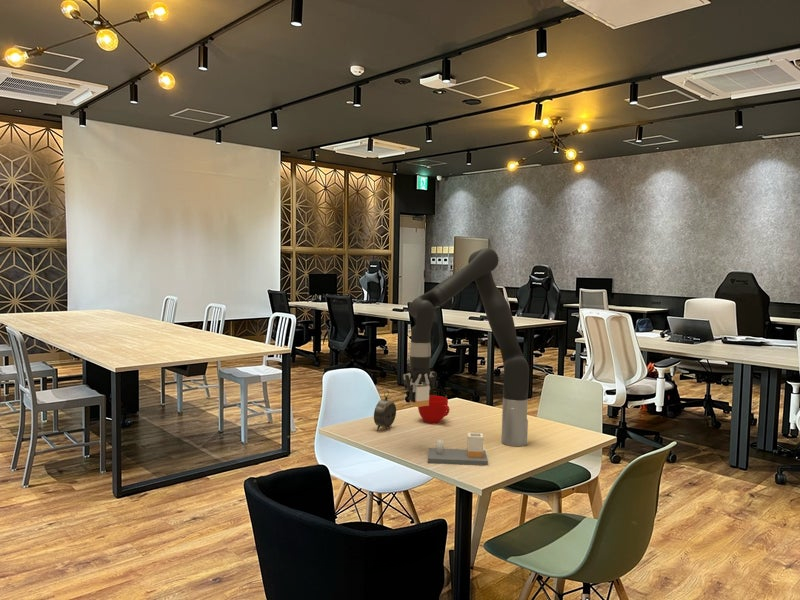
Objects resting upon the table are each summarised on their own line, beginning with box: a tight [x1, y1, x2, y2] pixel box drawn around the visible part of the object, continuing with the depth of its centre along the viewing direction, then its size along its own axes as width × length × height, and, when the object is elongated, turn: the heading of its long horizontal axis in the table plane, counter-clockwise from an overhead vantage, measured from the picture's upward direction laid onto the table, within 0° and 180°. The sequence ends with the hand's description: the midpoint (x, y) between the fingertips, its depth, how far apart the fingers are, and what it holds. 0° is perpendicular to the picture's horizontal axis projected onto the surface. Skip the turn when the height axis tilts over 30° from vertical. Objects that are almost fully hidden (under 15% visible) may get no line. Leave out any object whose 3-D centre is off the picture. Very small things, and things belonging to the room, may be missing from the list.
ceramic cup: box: [417, 395, 450, 424], centre depth 251 cm, size 13×17×10 cm
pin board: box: [427, 432, 489, 466], centre depth 202 cm, size 20×12×8 cm, turn 86°
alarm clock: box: [373, 389, 397, 432], centre depth 238 cm, size 11×5×16 cm, turn 149°
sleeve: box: [409, 383, 430, 408], centre depth 214 cm, size 5×5×7 cm
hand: (419, 400), depth 214 cm, fingers closed on sleeve, 5 cm apart
